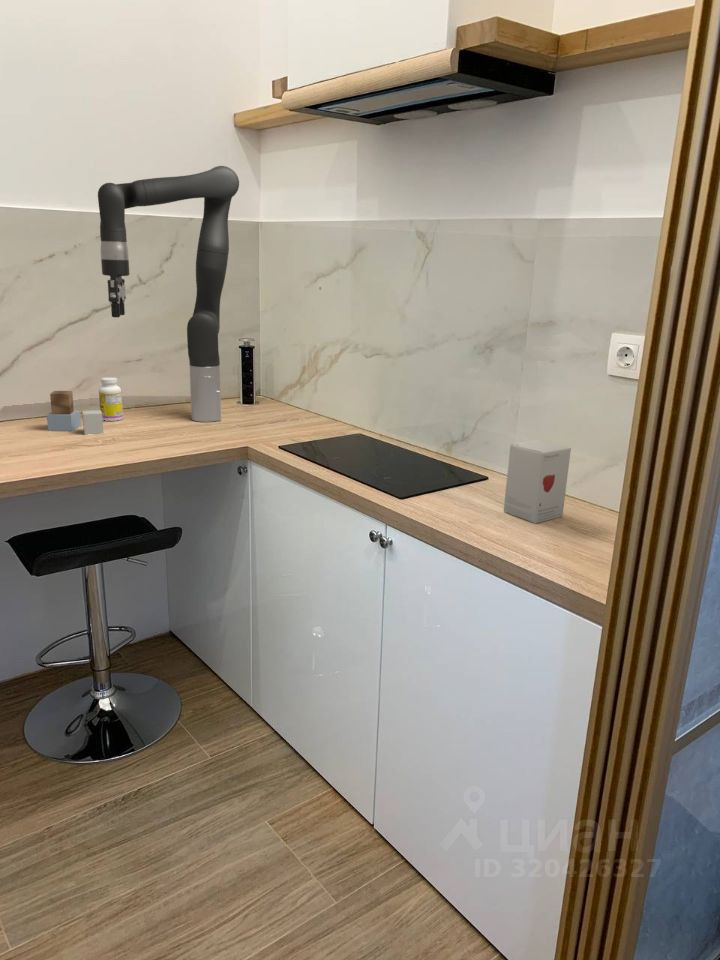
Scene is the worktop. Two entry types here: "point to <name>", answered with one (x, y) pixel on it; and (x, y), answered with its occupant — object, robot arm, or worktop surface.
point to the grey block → (92, 422)
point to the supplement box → (536, 480)
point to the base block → (64, 422)
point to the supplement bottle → (110, 400)
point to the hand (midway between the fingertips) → (118, 316)
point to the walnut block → (62, 402)
